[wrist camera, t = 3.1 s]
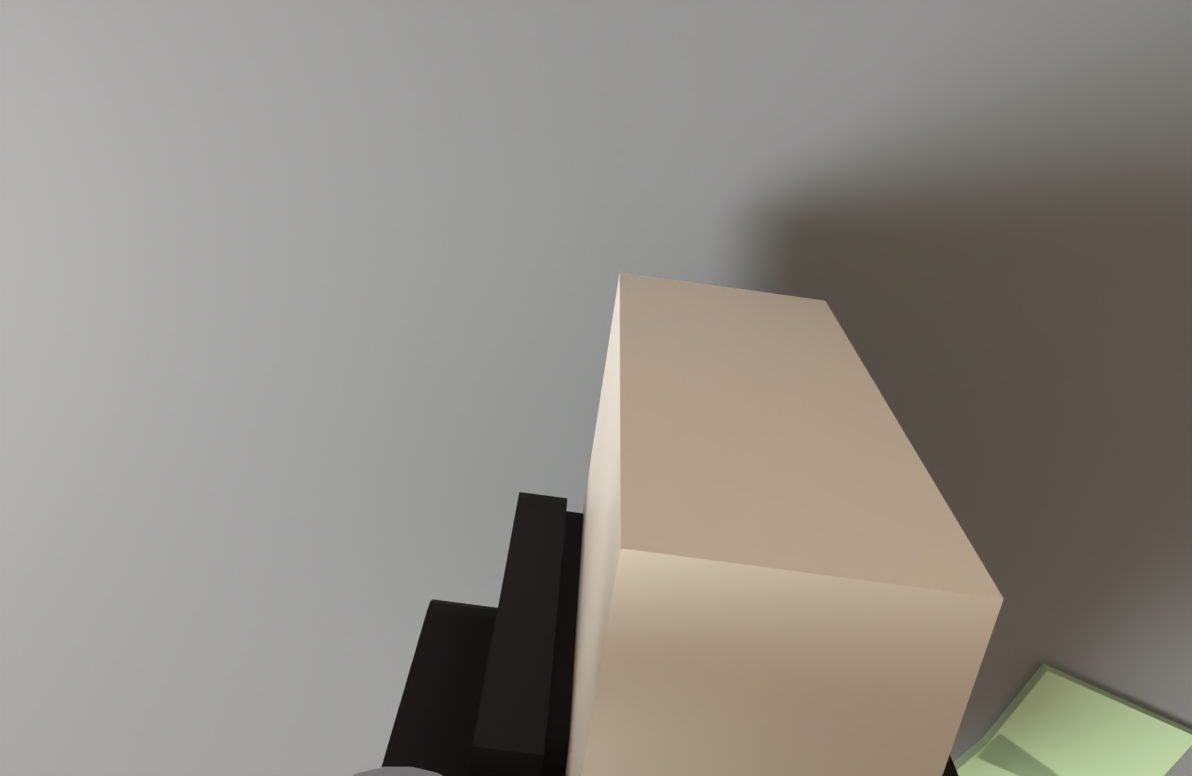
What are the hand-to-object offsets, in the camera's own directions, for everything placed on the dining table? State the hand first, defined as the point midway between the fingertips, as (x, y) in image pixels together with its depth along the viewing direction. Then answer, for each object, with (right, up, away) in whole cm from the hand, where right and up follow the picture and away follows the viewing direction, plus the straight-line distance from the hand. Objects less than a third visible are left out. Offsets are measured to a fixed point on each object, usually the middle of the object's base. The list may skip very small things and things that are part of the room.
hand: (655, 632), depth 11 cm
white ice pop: (0, -2, +2) cm, 3 cm away
